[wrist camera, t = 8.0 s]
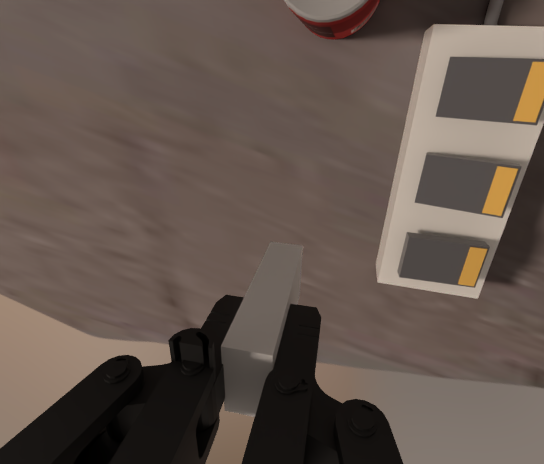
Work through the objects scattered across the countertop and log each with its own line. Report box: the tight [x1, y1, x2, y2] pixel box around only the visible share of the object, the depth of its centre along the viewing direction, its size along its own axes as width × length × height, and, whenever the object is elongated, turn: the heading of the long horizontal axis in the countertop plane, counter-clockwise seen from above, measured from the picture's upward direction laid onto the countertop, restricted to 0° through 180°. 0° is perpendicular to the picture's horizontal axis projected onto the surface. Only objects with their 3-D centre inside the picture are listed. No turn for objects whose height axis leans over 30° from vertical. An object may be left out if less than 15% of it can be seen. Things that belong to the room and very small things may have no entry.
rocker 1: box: [397, 232, 490, 288], centre depth 32 cm, size 4×7×1 cm, turn 87°
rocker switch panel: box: [376, 0, 544, 299], centre depth 31 cm, size 30×10×4 cm, turn 177°
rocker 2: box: [436, 57, 544, 125], centre depth 26 cm, size 4×7×1 cm, turn 87°
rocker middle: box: [414, 152, 522, 218], centre depth 29 cm, size 4×7×1 cm, turn 87°
